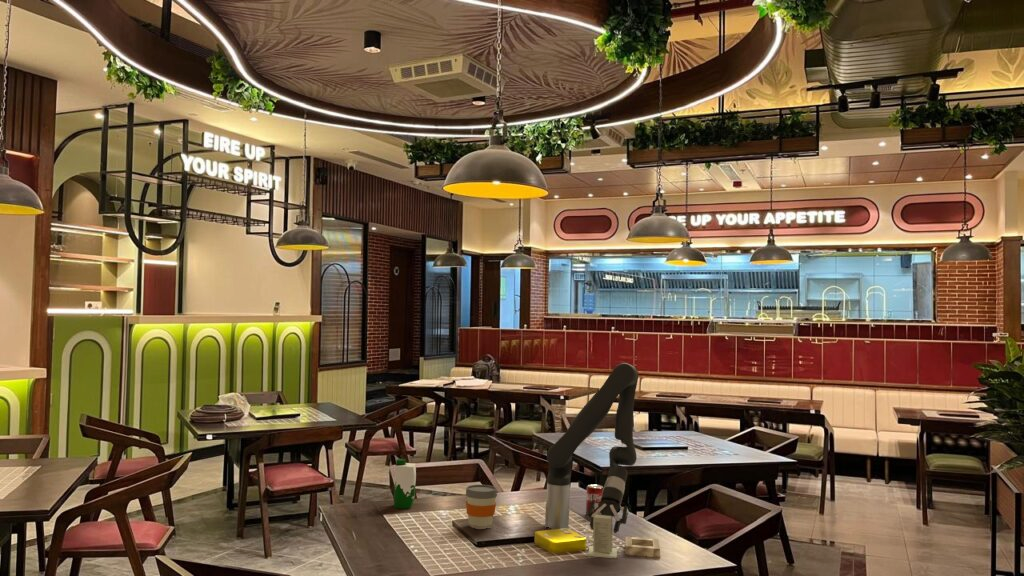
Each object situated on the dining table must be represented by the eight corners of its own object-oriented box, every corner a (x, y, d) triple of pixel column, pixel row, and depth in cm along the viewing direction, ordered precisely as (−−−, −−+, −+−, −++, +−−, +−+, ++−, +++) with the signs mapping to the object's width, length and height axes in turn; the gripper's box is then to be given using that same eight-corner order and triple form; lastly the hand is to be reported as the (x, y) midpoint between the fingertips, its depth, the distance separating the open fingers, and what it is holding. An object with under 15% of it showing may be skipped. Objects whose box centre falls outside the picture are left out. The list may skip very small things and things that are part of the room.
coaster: (588, 556, 250) (588, 554, 250) (589, 547, 260) (589, 545, 260) (616, 558, 249) (616, 556, 249) (617, 549, 259) (617, 548, 259)
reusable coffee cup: (458, 528, 279) (460, 489, 280) (472, 520, 291) (474, 483, 292) (488, 532, 275) (489, 493, 275) (500, 524, 286) (502, 486, 287)
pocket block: (625, 554, 253) (625, 546, 253) (625, 544, 265) (625, 536, 265) (659, 557, 251) (660, 549, 252) (658, 547, 263) (658, 539, 263)
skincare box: (612, 550, 256) (613, 515, 256) (609, 553, 252) (610, 518, 252) (595, 547, 258) (596, 513, 259) (592, 551, 254) (593, 516, 254)
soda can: (602, 517, 303) (603, 488, 304) (585, 515, 305) (586, 487, 305) (603, 513, 310) (604, 485, 311) (586, 511, 312) (587, 483, 312)
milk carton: (395, 503, 314) (397, 457, 315) (415, 504, 314) (417, 458, 315) (391, 508, 305) (393, 461, 306) (412, 509, 305) (414, 462, 306)
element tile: (532, 543, 265) (532, 529, 265) (567, 539, 271) (567, 526, 272) (552, 555, 251) (552, 541, 252) (588, 550, 258) (588, 537, 258)
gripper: (593, 483, 268) (582, 521, 256) (630, 488, 262) (620, 527, 251) (597, 495, 272) (586, 532, 261) (633, 500, 266) (624, 539, 255)
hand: (603, 530), depth 256 cm, fingers open, 8 cm apart
